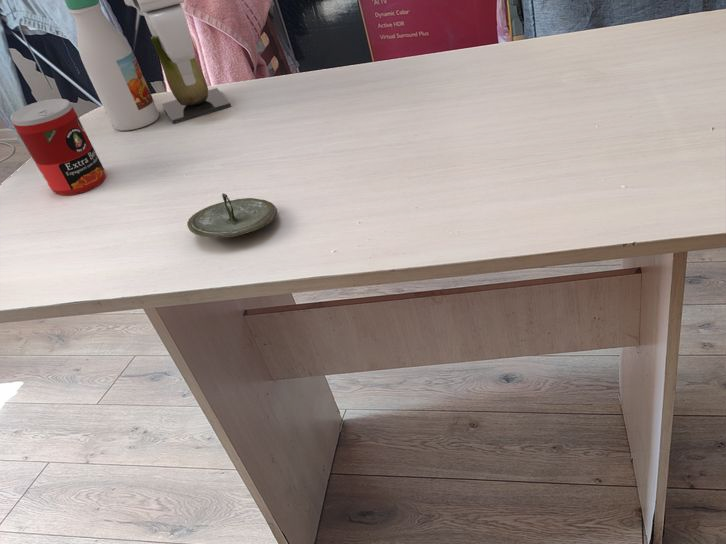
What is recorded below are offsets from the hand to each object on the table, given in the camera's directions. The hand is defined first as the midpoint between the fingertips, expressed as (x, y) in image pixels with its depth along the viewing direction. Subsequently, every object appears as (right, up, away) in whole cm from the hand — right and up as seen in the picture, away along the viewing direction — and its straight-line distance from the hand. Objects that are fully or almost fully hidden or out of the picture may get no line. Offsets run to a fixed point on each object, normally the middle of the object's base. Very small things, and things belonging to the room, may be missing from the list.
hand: (184, 76), depth 114 cm
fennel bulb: (0, -3, +3) cm, 5 cm away
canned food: (-9, -22, -15) cm, 28 cm away
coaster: (+1, -4, +3) cm, 5 cm away
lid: (+20, -31, -31) cm, 49 cm away
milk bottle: (-9, -7, +1) cm, 11 cm away
